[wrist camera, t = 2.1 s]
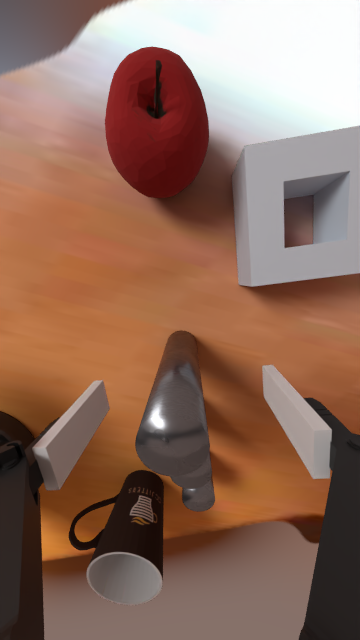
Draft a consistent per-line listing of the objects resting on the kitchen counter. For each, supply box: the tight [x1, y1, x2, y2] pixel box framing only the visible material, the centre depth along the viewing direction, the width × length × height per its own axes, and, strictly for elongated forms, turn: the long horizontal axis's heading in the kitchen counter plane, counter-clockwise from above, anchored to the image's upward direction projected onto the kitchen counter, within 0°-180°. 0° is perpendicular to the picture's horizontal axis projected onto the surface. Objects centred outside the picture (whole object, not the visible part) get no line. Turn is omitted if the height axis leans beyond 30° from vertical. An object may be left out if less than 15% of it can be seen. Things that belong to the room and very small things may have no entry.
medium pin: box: [170, 452, 212, 489], centre depth 23 cm, size 4×4×10 cm
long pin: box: [135, 331, 210, 476], centre depth 18 cm, size 4×4×16 cm
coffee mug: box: [69, 470, 164, 605], centre depth 26 cm, size 12×9×10 cm
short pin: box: [182, 476, 215, 511], centre depth 27 cm, size 4×4×6 cm
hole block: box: [232, 126, 360, 287], centre depth 20 cm, size 12×12×5 cm
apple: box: [105, 47, 209, 198], centre depth 17 cm, size 9×9×10 cm
